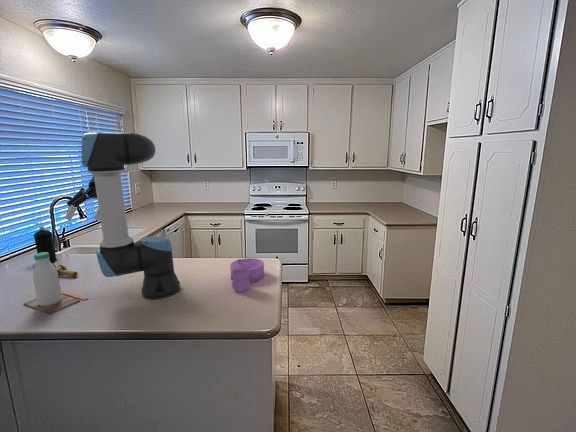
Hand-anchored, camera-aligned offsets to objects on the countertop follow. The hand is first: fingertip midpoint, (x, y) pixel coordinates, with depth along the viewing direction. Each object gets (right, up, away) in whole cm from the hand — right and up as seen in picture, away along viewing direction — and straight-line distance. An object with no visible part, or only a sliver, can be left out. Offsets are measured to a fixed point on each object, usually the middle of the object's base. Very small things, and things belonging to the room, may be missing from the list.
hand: (81, 219), depth 138 cm
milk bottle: (-3, -33, -14) cm, 36 cm away
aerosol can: (-42, -24, +36) cm, 60 cm away
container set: (+71, -28, +3) cm, 77 cm away
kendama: (-20, -28, +15) cm, 38 cm away
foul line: (0, -32, -7) cm, 32 cm away
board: (-3, -33, -13) cm, 36 cm away
